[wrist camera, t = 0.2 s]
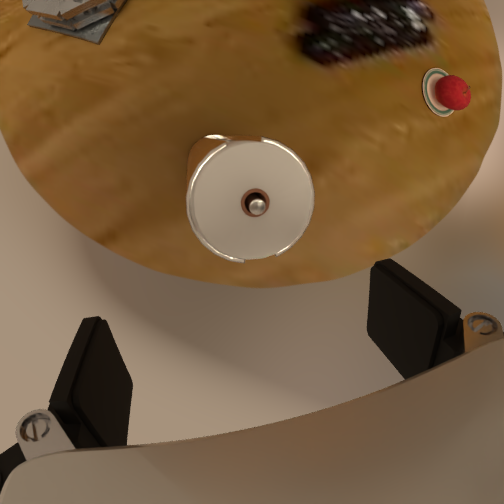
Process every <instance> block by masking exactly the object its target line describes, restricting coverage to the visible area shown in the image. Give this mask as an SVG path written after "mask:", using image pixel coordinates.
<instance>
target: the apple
mask: <svg viewBox="0 0 504 504" xmlns="http://www.w3.org/2000/svg"><path fill="white" fill-rule="evenodd" d="M423 94H424V98H425V100H426V103H427V104H428V106H429V108H430V109H431V110H432V111H433V112H434V113H435V114H437V115H439V116H448V115H450V114H451V113H452V112H453V111H454V110H462V109H464V108H465V107H467V106H468V104H469V103H470V99H471V94H470V86H469V87H468V85H467V84H466V82H465V81H464V80H462V79H461V78H459V77H457V76H454V75H448V74H447V73H446V72H445V71H443V70H441V69H438V68H434V69H431V70H429V71H428V72H427V73H426V74H425V76H424V79H423Z"/></svg>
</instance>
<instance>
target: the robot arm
mask: <svg viewBox="0 0 504 504" xmlns="http://www.w3.org/2000/svg"><path fill="white" fill-rule="evenodd" d="M460 314H461V309H459V308H458V307H457V306H455V305H454V304H453V303H452V302H450V301H449V300H448V299H446V298H445V297H444V296H442V295H441V294H440V293H438V292H437V291H435V290H434V289H433V288H431V287H430V286H429V285H427V284H426V283H424V282H423V281H421V280H420V279H419V278H418V277H416V276H415V275H413V274H412V273H410V272H409V271H408V270H406V269H405V268H404V267H402V266H401V265H399V264H398V263H396V262H395V261H393V260H392V259H385V260H381V261H377V262H375V264H374V266H373V267H372V268H371V271H370V291H369V307H368V319H367V332H368V335H369V337H370V338H371V339H372V340H373V341H374V343H375V344H376V345H377V346H378V347H379V348H380V350H381V351H382V352H383V353H384V355H385V356H386V357H387V358H388V359H389V361H390V362H391V363H392V364H393V365H394V367H395V368H396V369H397V370H398V372H399V373H400V374H401V375H402V376H403V378H404V379H405V380H403V381H401V382H399V383H396V384H394V385H391V386H388V387H386V388H383V389H381V390H378V391H375V392H373V393H370V394H367V395H365V396H362V397H359V398H356V399H353V400H350V401H347V402H344V403H341V404H338V405H335V406H332V407H329V408H325V409H322V410H319V411H316V412H312V413H309V414H305V415H302V416H298V417H294V418H291V419H287V420H283V421H279V422H275V423H271V424H266V425H262V426H258V427H254V428H248V429H244V430H239V431H234V432H229V433H223V434H217V435H212V436H206V437H199V438H192V439H186V440H178V441H170V442H160V443H151V444H140V445H127V435H128V425H129V415H130V406H131V398H132V389H133V383H132V379H131V377H130V374H129V372H128V370H127V368H126V366H125V363H124V361H123V359H122V357H121V354H120V352H119V350H118V347H117V345H116V343H115V340H114V338H113V335H112V333H111V330H110V328H109V325H108V323H107V321H106V320H102V319H101V318H100V317H99V316H96V317H90V318H84V319H83V320H82V323H81V325H80V327H79V329H78V331H77V333H76V336H75V338H74V340H73V342H72V345H71V347H70V349H69V352H68V354H67V357H66V359H65V361H64V364H63V366H62V369H61V371H60V374H59V376H58V379H57V382H56V384H55V387H54V390H53V392H52V395H51V398H50V400H49V402H50V405H49V407H48V410H44V409H38V410H33V411H31V412H29V413H27V414H26V415H25V416H23V417H22V419H21V420H20V421H19V422H18V425H17V427H16V438H17V440H18V443H16V444H15V445H13V446H12V447H10V448H9V449H7V450H6V451H5V452H3V453H2V454H0V504H504V332H503V330H502V326H501V323H500V322H499V321H498V320H497V318H495V317H494V316H492V315H490V314H487V313H483V312H473V313H470V314H468V315H467V316H465V318H464V320H462V319H461V318H460Z"/></svg>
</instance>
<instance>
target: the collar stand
mask: <svg viewBox="0 0 504 504" xmlns="http://www.w3.org/2000/svg"><path fill="white" fill-rule="evenodd" d="M126 1H127V0H23V7H24V8H25V9H26V10H27V11H28V12H30V13H31V14H32V15H33V16H32V17H31V19H30V21H29V23H28V24H27V25H29V26H30V27H35V28H39V29H44V30H48V31H52V32H56V33H60V34H64V35H68V36H72V37H75V38H79V39H82V40H86V41H89V42H92V43H96V44H99V45H100V43H101V41H102V39H103V38H104V36H105V34H106V33H107V31H108V29H109V28H110V26H111V24H112V23H113V21H114V19H115V18H116V16H117V15H118V13H119V12H120V10H121V8H122V7H123V5H124V4H125V2H126Z"/></svg>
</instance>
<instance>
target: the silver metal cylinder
mask: <svg viewBox="0 0 504 504" xmlns="http://www.w3.org/2000/svg"><path fill="white" fill-rule="evenodd" d="M314 198H315V191H314V186H313V181H312V177H311V175H310V173H309V171H308V169H307V167H306V165H305V163H304V161H303V160H302V159H301V158H300V157H299V156H298V155H297V154H296V153H295V152H294V151H293V149H291V148H289V147H288V146H286V145H284V144H283V143H281V142H279V141H278V140H274V139H271V138H267V137H263V136H250V135H209V136H206V137H203V138H202V139H200V140H198V141H197V142H196V143H195V144H194V145H193V146H192V148H191V150H190V152H189V156H188V162H187V181H186V209H187V216H188V219H189V222H190V225H191V228H192V230H193V232H194V233H195V235H196V236H197V237H198V239H199V240H200V242H201V243H202V244H203V245H204V246H205V247H207V248H208V249H209V250H210V251H211V252H213V253H214V254H215V255H218V256H220V257H222V258H224V259H226V260H229V261H233V262H239V263H245V259H261V258H265V257H268V256H271V255H273V254H274V255H275V256H276V257H277V256H279V255H281V254H282V253H284V252H285V251H287V250H288V249H290V248H291V247H292V246H293V245H294V244H295V243H296V242H297V241H298V240H299V239H300V238H301V237H302V235H303V233H304V232H305V230H306V228H307V227H308V225H309V223H310V220H311V216H312V213H313V210H314Z"/></svg>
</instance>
